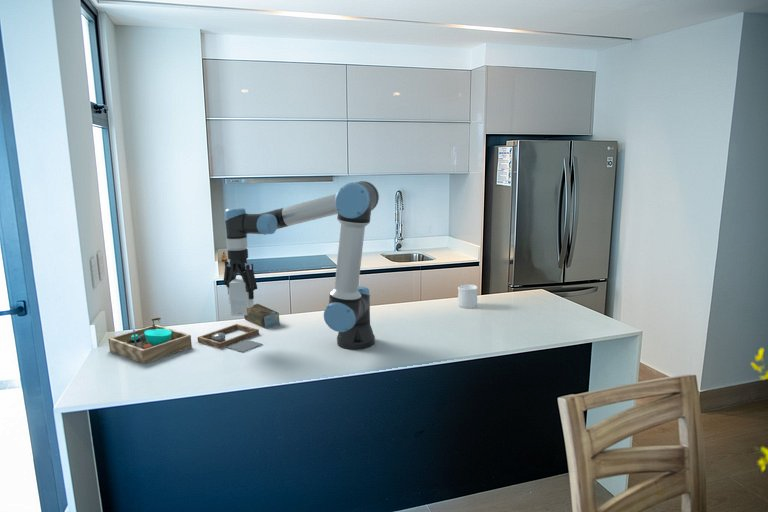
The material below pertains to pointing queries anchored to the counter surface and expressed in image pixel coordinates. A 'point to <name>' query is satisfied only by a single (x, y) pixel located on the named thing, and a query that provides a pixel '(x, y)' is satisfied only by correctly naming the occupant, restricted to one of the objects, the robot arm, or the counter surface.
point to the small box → (238, 297)
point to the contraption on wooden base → (151, 337)
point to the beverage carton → (263, 316)
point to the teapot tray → (153, 353)
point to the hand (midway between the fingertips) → (241, 305)
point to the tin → (218, 337)
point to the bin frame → (206, 339)
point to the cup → (467, 296)
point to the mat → (244, 345)
